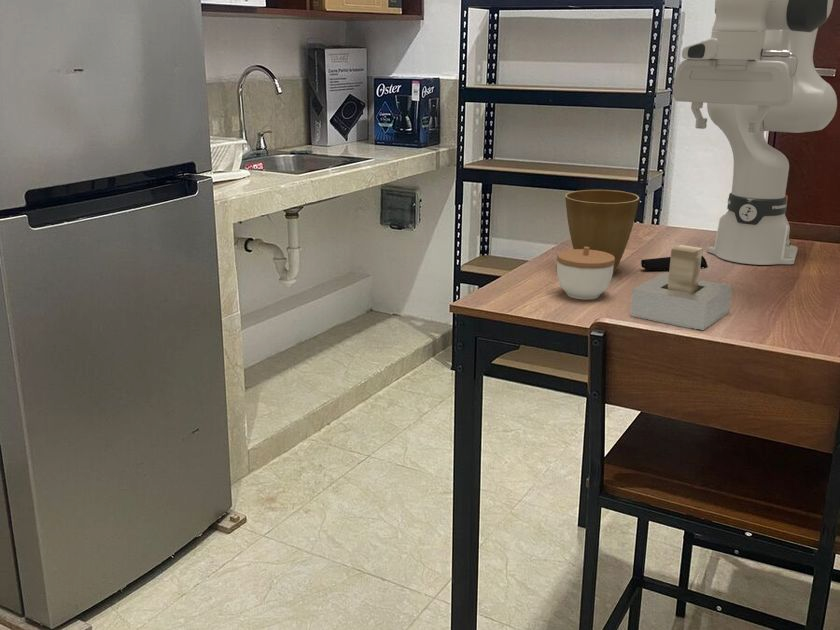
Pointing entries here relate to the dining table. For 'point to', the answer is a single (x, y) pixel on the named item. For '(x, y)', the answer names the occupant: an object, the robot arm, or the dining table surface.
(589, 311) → the dining table surface
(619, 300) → the dining table surface
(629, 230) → the plant pot
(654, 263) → the electric trimmer
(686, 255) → the ash peg
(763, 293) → the dining table surface
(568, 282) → the lidded jar
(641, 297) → the socket block
